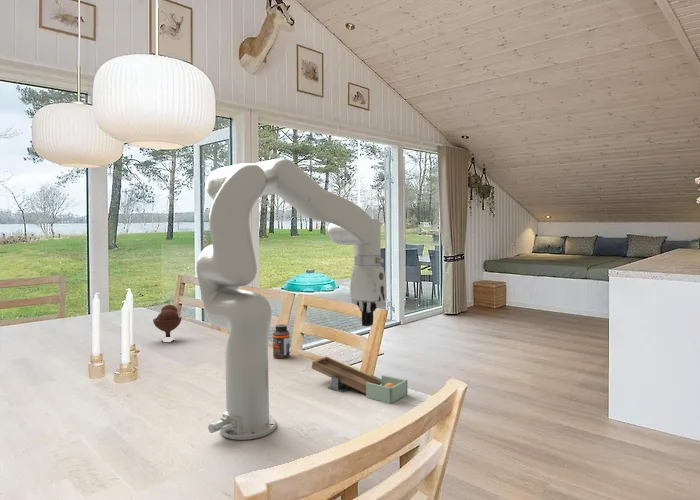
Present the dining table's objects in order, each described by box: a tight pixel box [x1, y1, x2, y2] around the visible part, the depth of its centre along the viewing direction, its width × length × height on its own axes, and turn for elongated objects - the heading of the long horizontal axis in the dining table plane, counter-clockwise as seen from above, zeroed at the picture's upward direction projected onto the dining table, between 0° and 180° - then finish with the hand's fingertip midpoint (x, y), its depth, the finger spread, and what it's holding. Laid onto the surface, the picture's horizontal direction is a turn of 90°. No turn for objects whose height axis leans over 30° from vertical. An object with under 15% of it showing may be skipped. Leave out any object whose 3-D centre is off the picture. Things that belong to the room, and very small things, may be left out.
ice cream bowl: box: [152, 304, 182, 337], centre depth 194 cm, size 11×11×15 cm
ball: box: [385, 383, 395, 388], centre depth 127 cm, size 4×4×4 cm
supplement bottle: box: [272, 323, 291, 359], centre depth 169 cm, size 6×6×11 cm
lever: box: [311, 356, 382, 395], centre depth 138 cm, size 10×20×2 cm, turn 53°
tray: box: [365, 375, 408, 404], centre depth 128 cm, size 8×8×4 cm
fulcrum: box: [327, 376, 352, 393], centre depth 136 cm, size 9×5×4 cm, turn 143°
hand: (367, 325), depth 135 cm, fingers closed
